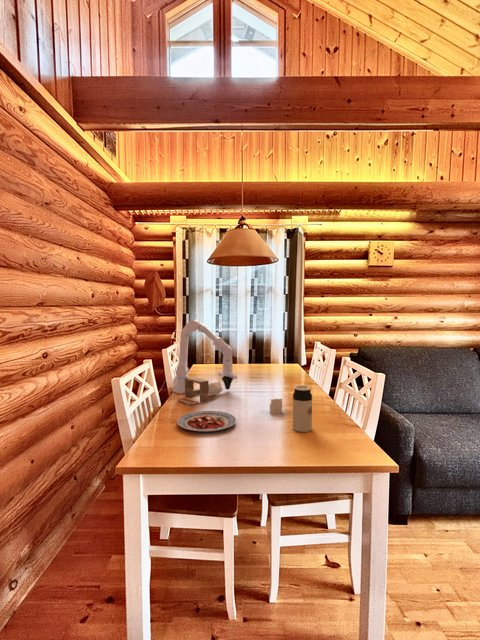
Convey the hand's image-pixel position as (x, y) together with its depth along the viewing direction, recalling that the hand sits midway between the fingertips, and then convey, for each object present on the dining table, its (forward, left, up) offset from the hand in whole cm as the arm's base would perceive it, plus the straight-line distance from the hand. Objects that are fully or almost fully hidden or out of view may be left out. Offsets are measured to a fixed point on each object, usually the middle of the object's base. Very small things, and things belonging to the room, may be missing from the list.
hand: (227, 389), depth 212 cm
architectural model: (+46, -10, -2) cm, 47 cm away
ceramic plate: (+35, -44, -2) cm, 57 cm away
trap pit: (+2, -30, -2) cm, 30 cm away
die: (0, -10, -2) cm, 10 cm away
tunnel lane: (0, -21, -2) cm, 21 cm away
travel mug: (+68, -19, -2) cm, 71 cm away
